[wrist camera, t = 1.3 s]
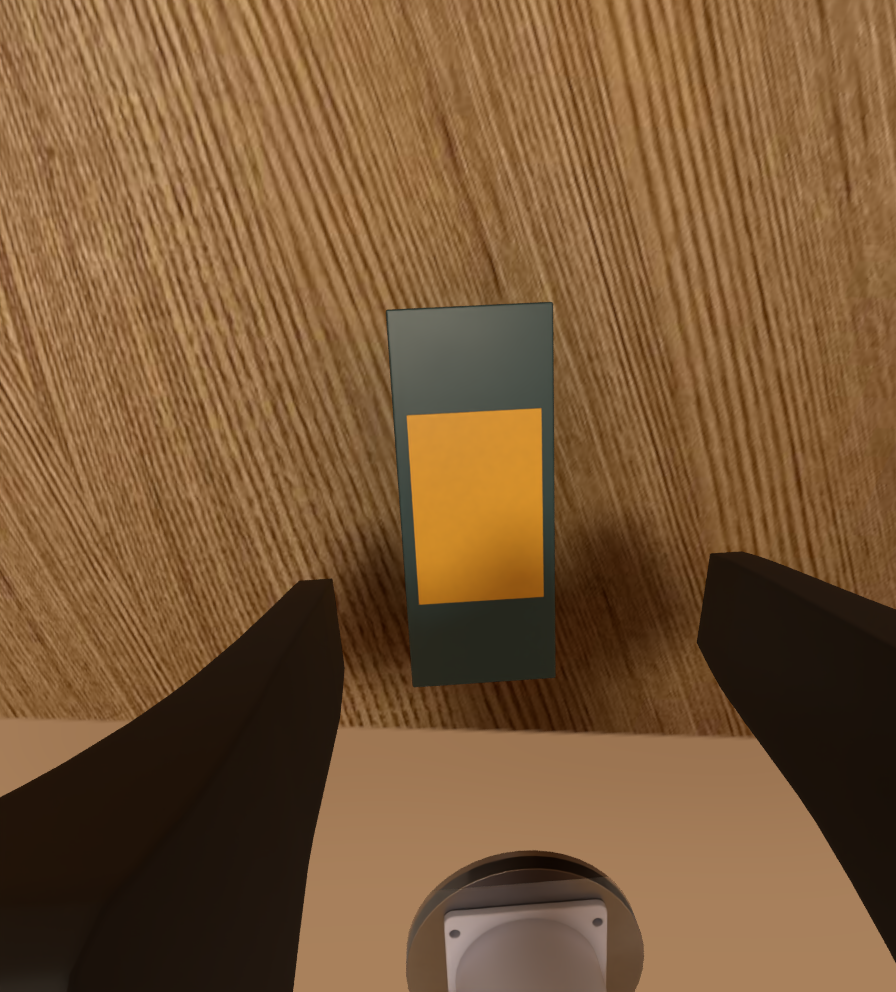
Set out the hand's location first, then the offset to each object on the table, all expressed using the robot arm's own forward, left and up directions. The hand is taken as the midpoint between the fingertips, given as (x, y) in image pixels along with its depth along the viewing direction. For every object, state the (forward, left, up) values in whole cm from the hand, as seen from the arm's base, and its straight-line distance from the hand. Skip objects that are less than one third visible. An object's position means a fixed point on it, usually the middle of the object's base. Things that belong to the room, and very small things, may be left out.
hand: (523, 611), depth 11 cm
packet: (0, 0, -11) cm, 11 cm away
